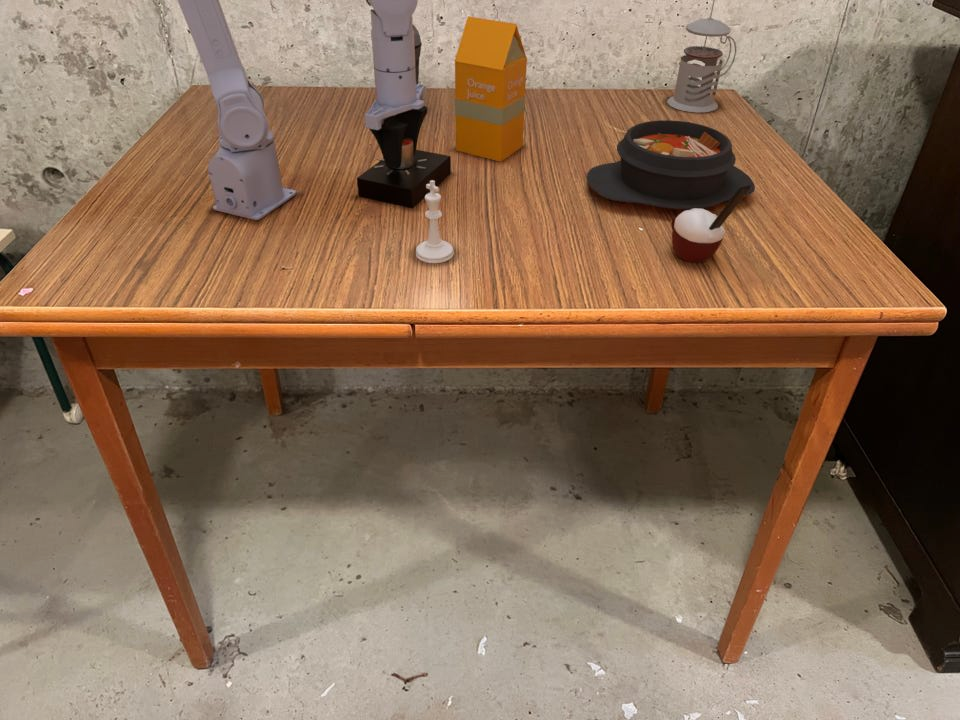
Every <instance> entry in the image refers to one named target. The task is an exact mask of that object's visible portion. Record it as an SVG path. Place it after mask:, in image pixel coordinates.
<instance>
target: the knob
mask: <svg viewBox="0 0 960 720" xmlns="http://www.w3.org/2000/svg"><path fill="white" fill-rule="evenodd" d="M413 165H414V151H413V140H412V139H411V138H409V137H403V143H402V160H401V166H400V167H399V168H394V169H406V168H410V167H412V166H413ZM391 168H392V167H391Z"/></svg>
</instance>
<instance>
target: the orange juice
mask: <svg viewBox="0 0 960 720" xmlns="http://www.w3.org/2000/svg"><path fill="white" fill-rule="evenodd" d="M517 25H518V24H517V23H514V22H513V23H512V22H507V21H501V20H494V19H489V18H488V19H487V18H482V17H475V16H468V15H467V17H466V21H465V24H464V28H463V31H462V35H461V38H460V41H459V44H458V48H457V51H456V55H455V58H454V116H455V151H457V152H460V153H465V154H468V155H472V156H476V157H479V158H484V159H488V160H493V161H496V162H500V163H501V162H502V161H504V160H505V159H507V158H509V157H510V156H511V155H513V154H514V153H516V152H518V150H520V149H521V148H523V144H524V143H523V141H524V140H523V139H524V124H525V122H524V121H525V107H526V86H527V85H526V83H527V65H528V64H527V63H528V56H527V54H526V52H525V48H524V45H523V41H522V38H521V35H520V32H519V29H518V26H517Z"/></svg>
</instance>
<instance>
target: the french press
mask: <svg viewBox="0 0 960 720" xmlns="http://www.w3.org/2000/svg"><path fill="white" fill-rule="evenodd" d="M715 1H716V0H713V1H712V5H711V10H710V15H709V17H707V18H699V19H696V20H693V21H691V22H690V23H688V24H686V25H685V30H686V31H687V32H688V33H689V34H693V35H696V36H700V37H701V36H702V37H705V40H704V45H701V46H700V45H693V46H687V47H686V48H684V49H683V54H684V55H682V56H680V61H679V66H678V71H677V76H676V82H675V87H674V92H673V95H672V96H670V97H669V98H668V99H667V101H666V102H667V104H668V105H669V106H670V107H672V108H674V109H676V110H678V111H679V110H680V111H683V112H688V113H689V112H690V113H709V112H714V111H716V110H718V108H719V104H718V102H717V101H716V100H715V98H716V93H717V89H718V84H719V79H720V78H721V77H723V76H724V75H726V74H727V73H728V72H729V70H731V68H732V66H733V64H734V62H735V58H736V55H737V43H736V41H735V39H734V37H731V35H730V33H731V30H732V29H731V28H730V27H729V26H728V25H727V24H726V23H724V22H723V21H721V20H718V19H715V18H713V17H712V14H713V10H714V6H715ZM708 37H711V38H713V37H714V38H717V37H719V38H720V39H719V42H720V43H721V44H723V45H726V43H727V40H728V42H729V52H728V56H727V59H726V61H725V63H724V65H723V60H722V59H720V58H722V57H723V55H724V52H723V51H722V50H721V49H720V48H715V47H711V46H706V44H707V39H708ZM723 37H726V38H725V39H724V41H722V40H723ZM732 43H733V45H734V54H733V58H732V61H731V63H730V65H729V66H728V68H727V70H725V71H724V72H722V70H723V69H724V68H725V67H726V65H727V64H728V62H729V60H730V57H731V53H732ZM718 60H719V63H718ZM692 61H699V62H700V63H701V62H702V63H703V64H704V65H701V64H699V63H695V62H693V63H688V62H692ZM699 78H701V79H699ZM712 87H713V88H712ZM711 93H712V94H711Z"/></svg>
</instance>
